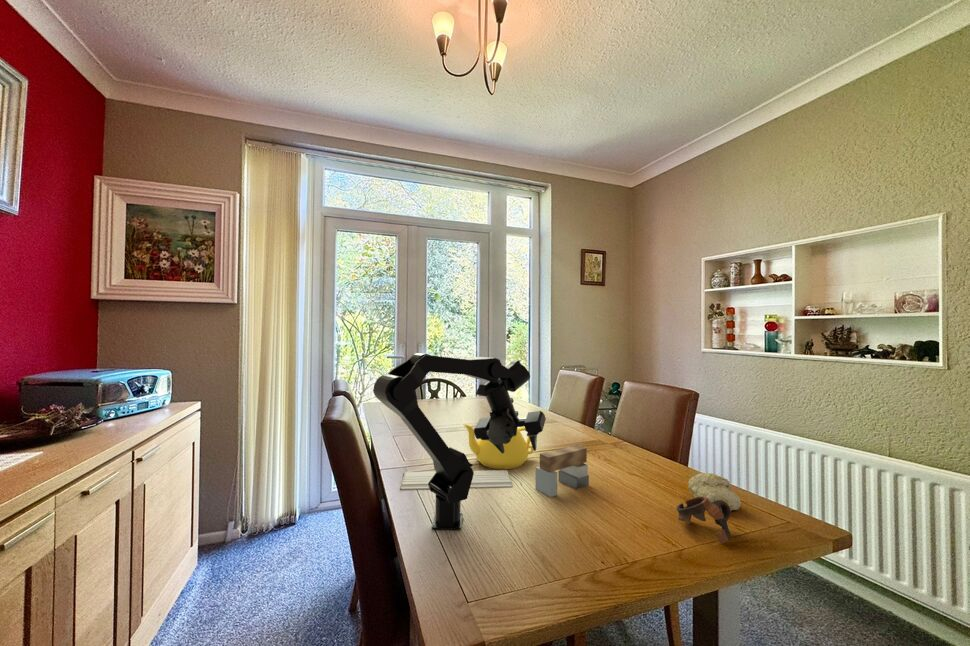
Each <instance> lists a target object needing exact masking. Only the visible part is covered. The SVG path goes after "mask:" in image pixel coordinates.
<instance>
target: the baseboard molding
mask: <svg viewBox="0 0 970 646" xmlns="http://www.w3.org/2000/svg"><path fill="white" fill-rule="evenodd" d="M473 472H474V475H473V479H472V482H471V486H470V489H487V488H488V489H489V488H490V489H491V488H492V489H493V488H495V489H497V488H513V482H512V480H511V477H510V475H509V474H510V473H509V472H508V469H491V470H488V469H487V470H473ZM435 473H436V471H407V470H406V469H405V470H404V473H403V474H402V481H401V486H400V488H399V491H400V490H401V491H407V490H408V489H409V490H410V489H411V490H410V491H412V489H414V490H413V491H415V490H417V489H418V490H419V489H420V490H430V489H429V486H428V483H429V482H430V480H431V479H432V477H433V476H434V475H435ZM409 490H408V491H409Z"/></svg>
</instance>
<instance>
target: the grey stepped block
mask: <svg viewBox="0 0 970 646" xmlns="http://www.w3.org/2000/svg"><path fill="white" fill-rule="evenodd" d="M588 466H589V465H588V464H586V463H581V464H578V465H574V466H571V467H567V468H563V469H560V470H558V482H560V483H562V484H563V485H566V486H568V487H570V488H572V489H574V490H576V491H577V490H580V489H583V488H586V487H589V486H590V476H589V471H588V468H589V467H588Z"/></svg>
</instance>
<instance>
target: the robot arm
mask: <svg viewBox="0 0 970 646" xmlns="http://www.w3.org/2000/svg"><path fill="white" fill-rule="evenodd" d="M429 373H440V374H454V375H465V376H468V377H470V378H473V379H476V380H481V381H482V380H483V381H487V382H485V383H484V384H483V383H479V385H478V388H477V389H476V392H475V394H476V396H481V397H485V399H486V400H487V404H488V405H489V409H490V410H489V417H481V418H479V419H478V422H477V423H476V425H475V427H473V429H474V435H475V439H476V440H479V439H481V440H487V441H490V442H491V443H492V444H493V445H494V446H495V447H496V448H497V449H498V450H499V451H500V452H501V453H502V454H503V453H504V452H505V450H504V446H503V444H507V443H509V442H510V440H511V439H512V437H513V436H516V434H517V428H520V427H525V430H526V431H525V432H526V437H528V436H529V438H530V444H531V446H532V447H533V449H534V451H533V452H536V451H537V447H538V446H537V442H538V435H539V434H540V433H541V432H543V430H544V427H545V423H546V420H547V418H546V416H545V415H546V414H545V413H544V412H543V411H541V410H538V411H537V410H536V411H528V412H527V414H526V417H523V418H519V411H518V410H516V409H515V407H514V404H513V403H514V401H515V400H514V398H513V397H511V396H510V393H509V392H511V393H514V392H516V391H517V390H519V389H520V388H521V387H522V386H523V385H525V384H526V383H527V382H529V381H530V378H531V374H530V371H529V370H528V369H527V368H526V366H525V365H524V364H523V363H522V364H521V362H520V360H519V359H513V360H512V361H510V363H508V364H507V365H506V366H504V365H503V364H502V362H501V360H500V359H499V358H496V357H488V356H474V357H468V358H467V357H466V358H458V357H457V358H456V357H449V356H438V355H432V354H429V353H420V352H417V353H413V355H411V356H410V357H409V358H408V359H407V360H405V361H403V362H402V363H400V364H399V365H398V366H396V367H394V368H392V369H391V370H390V371H389V372H388V373H386V374H382V375H380V376H378V378H377V379H376V380H375V382H374V383H373V389H372V392H373V394H374V396H375V398H376V399H378V400H379V401H380V403H382V404H383V405H384V406H386V407H387V408H388V409H389V410H390V411H392V412H394V413H395V414H396V415H398V416H399V418H400V419H401V420H402V421H403V423H404V424H405V425H406V427H407V428H408V429H409V430H410V432H411V433H412V434H413V436H414V437H415V439H416V440H417V441H418V443H420V445H421V447H423V449H424V450H425V451H426V452H427V454H428V455H429V456H430V459H432V462H433V468H434V470H435V471H434V472H436V473H435V475H434V476H433V477H432V479H431V480H430V482H429V483H428V486H429V489H428V490H430V492H432V493H434V494H435V505H434V506H435V508H434V509H435V512H434V513H435V514H434V517H433V521H432V524H431V529H432V530H451V531H453V530H455V531H458V530H461V529H462V525H463V519H464V513H461V502H462V501H464V500H467V499H468V497H469V492H470V490H471V488H470V486H471V482H472V479H473V475H474V472H473V471H474V470H473V468H472V467H473V466H474V464H472V463H471V462H470V461H469V460H468V458H467V456H466V454H465V453H464V452H461V451H460V450H458V449H455V448H453V447H451V446H450V447H449V446H448V445H447V443H446V442H445V441H444V439H443V437H441V435H440V434H439V433H438V430H436V429H435V427H434V426H433V425H432V423H431V422H430V420H429V419H428V417H427V416H426V415H425V413H424V412H423V410H422V409H421V408H420V406H419V403H418V397H417V394H416V390H417V389H418V388H419V387H420V386H421V384H422V383H423V381H424V379H425V378H426V375H428V374H429Z"/></svg>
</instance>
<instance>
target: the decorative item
mask: <svg viewBox="0 0 970 646" xmlns="http://www.w3.org/2000/svg"><path fill="white" fill-rule="evenodd" d="M687 486H688V490H689V492H690V493H691V494H692V495H693V498H696V497H700V496H704V497H707V498H708V500H709V501H710V502H714V501H716V500H723V501H725V502H726V503H727V504H728V506H729V507H730V512H732V511H736V510H739V509H740V508H741V498H740V496H739V495H738V494H737V493H735V492H734V491H733V490H731V489H730V488H731V482H730V481H729V480H728V479H727V478H725V477H724V476H721V475H719V474H716V473H709V472H707V473H706V472H700V473H698V474H695V475H694V476H692V477H690V478H689V479H688V485H687ZM720 510H721V507H720ZM721 511H722V510H721Z"/></svg>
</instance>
